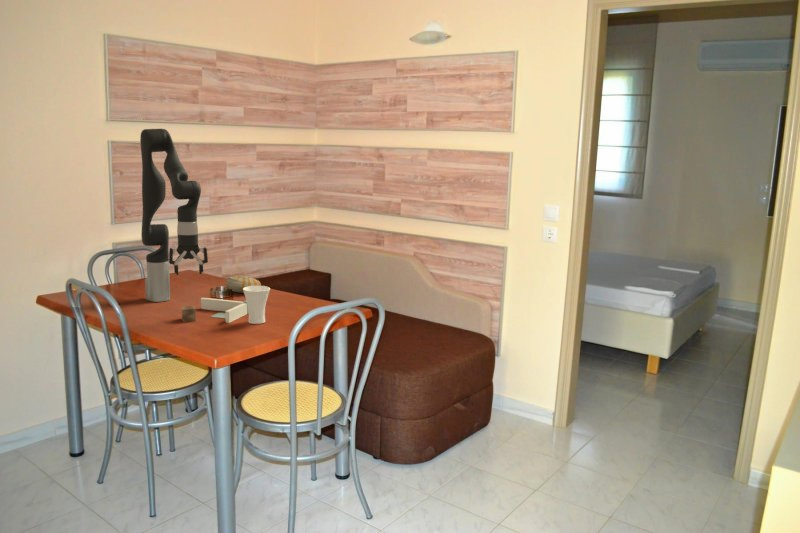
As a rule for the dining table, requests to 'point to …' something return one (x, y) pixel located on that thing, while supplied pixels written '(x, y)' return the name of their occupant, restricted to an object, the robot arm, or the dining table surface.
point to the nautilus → (240, 283)
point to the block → (188, 313)
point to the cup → (256, 302)
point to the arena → (225, 308)
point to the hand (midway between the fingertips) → (188, 274)
